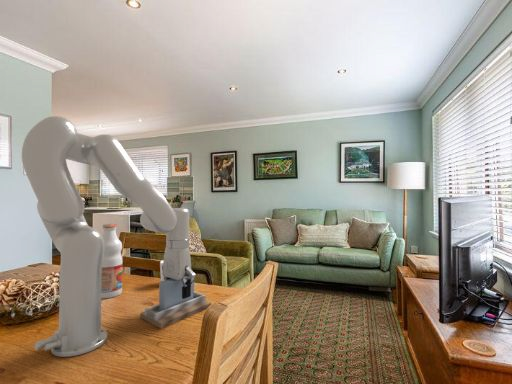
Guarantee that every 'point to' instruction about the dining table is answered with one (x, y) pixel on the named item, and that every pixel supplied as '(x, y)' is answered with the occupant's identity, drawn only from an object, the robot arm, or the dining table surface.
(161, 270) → the white cup
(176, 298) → the plain gray rectangular block
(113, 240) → the fruit juice
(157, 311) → the track plinth
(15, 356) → the dining table surface
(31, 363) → the dining table surface
